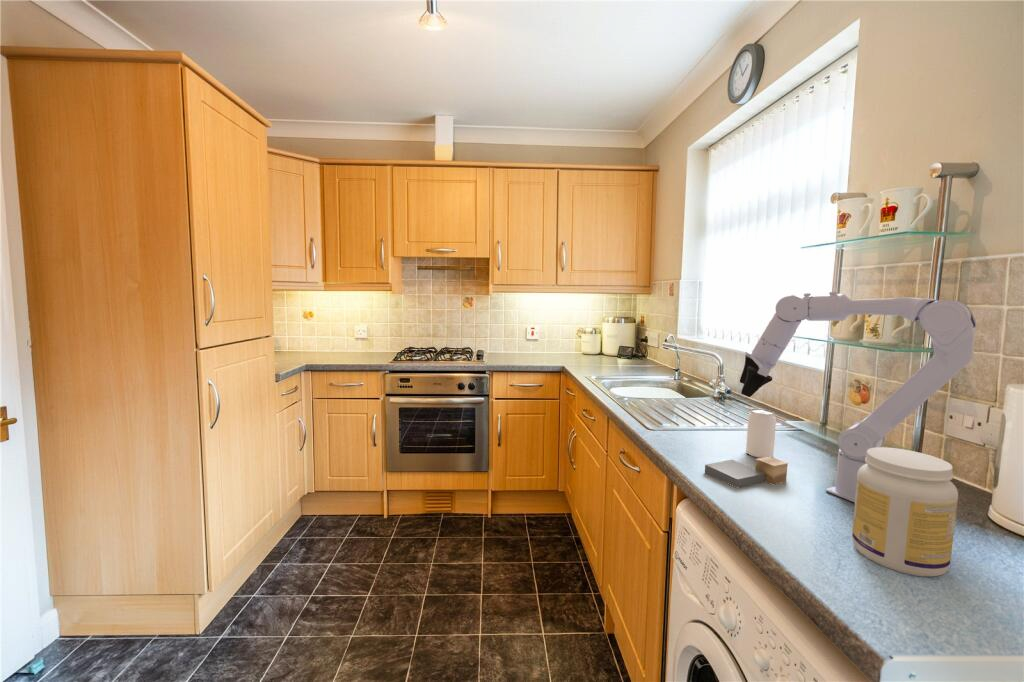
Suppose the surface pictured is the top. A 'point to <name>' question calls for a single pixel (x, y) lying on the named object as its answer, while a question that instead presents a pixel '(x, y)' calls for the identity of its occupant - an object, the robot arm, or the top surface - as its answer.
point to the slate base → (735, 473)
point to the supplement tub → (905, 511)
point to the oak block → (772, 469)
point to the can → (761, 433)
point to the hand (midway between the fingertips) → (744, 389)
